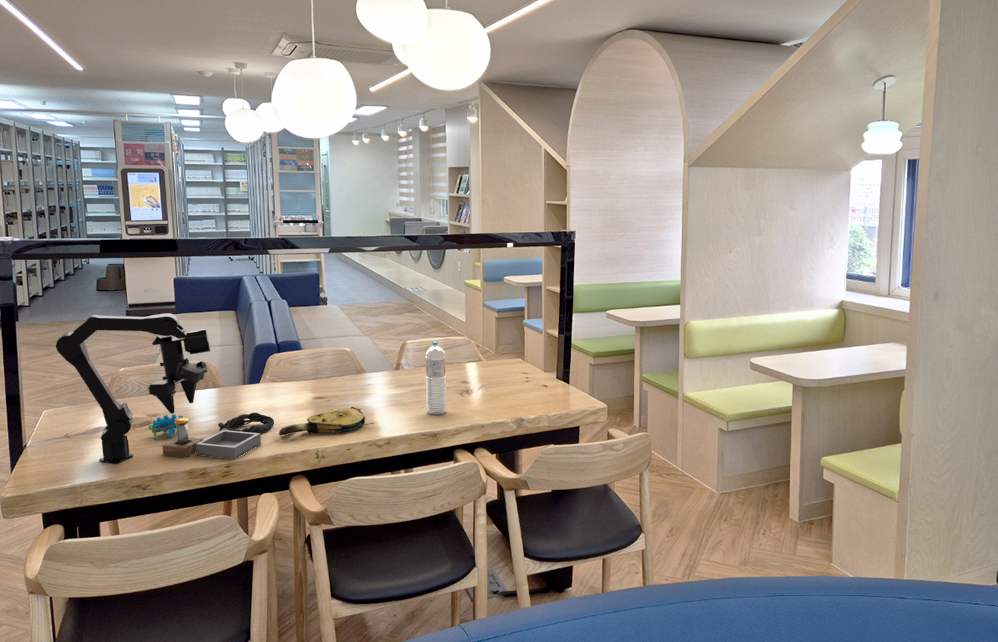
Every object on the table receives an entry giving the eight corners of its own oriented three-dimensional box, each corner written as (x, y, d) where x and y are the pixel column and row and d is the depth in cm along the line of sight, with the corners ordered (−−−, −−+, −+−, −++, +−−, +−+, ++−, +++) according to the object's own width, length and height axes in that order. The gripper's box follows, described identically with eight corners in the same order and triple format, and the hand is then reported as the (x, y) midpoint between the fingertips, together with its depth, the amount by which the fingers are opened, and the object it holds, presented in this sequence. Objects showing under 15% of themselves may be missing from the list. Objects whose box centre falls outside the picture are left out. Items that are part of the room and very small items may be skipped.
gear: (189, 424, 239) (182, 409, 231) (191, 440, 236) (183, 426, 228) (153, 431, 237) (144, 417, 228) (154, 448, 234) (145, 434, 225)
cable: (269, 421, 248) (268, 409, 247) (281, 433, 237) (280, 420, 236) (215, 430, 239) (214, 417, 238) (225, 442, 228) (224, 429, 227)
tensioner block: (186, 457, 214) (185, 447, 213) (163, 455, 216) (162, 445, 215) (204, 448, 221) (203, 438, 221) (181, 446, 224) (180, 436, 223)
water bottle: (431, 408, 261) (429, 339, 256) (449, 410, 259) (448, 340, 254) (423, 414, 254) (421, 343, 250) (441, 416, 252) (440, 344, 248)
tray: (235, 459, 212) (234, 447, 212) (196, 455, 216) (195, 443, 215) (261, 444, 225) (260, 433, 224) (224, 440, 228) (223, 429, 228)
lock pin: (185, 454, 217) (182, 421, 215) (174, 453, 217) (171, 420, 216) (193, 450, 220) (190, 418, 218) (182, 449, 221) (180, 417, 219)
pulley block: (271, 413, 235) (360, 399, 251) (271, 430, 236) (359, 414, 252) (285, 432, 223) (377, 415, 240) (285, 449, 225) (376, 432, 241)
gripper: (178, 365, 204) (187, 418, 207) (216, 348, 221) (224, 397, 225) (142, 366, 206) (152, 419, 209) (183, 349, 224) (191, 398, 227)
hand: (182, 408), depth 217 cm, fingers open, 9 cm apart
